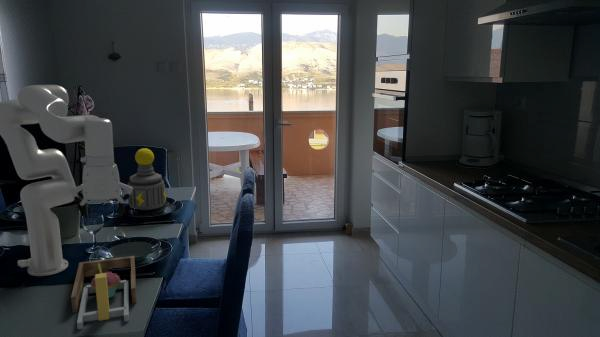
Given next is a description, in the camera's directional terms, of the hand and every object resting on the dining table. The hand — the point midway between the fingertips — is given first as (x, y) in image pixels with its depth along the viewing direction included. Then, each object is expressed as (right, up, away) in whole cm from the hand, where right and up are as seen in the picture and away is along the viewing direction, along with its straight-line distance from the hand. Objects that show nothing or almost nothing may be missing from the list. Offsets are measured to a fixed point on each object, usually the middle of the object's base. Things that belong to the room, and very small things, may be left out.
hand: (103, 215), depth 137 cm
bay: (-3, -25, +10) cm, 27 cm away
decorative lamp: (-20, -5, +98) cm, 100 cm away
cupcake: (-2, -26, +6) cm, 27 cm away
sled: (+1, -27, 0) cm, 27 cm away
